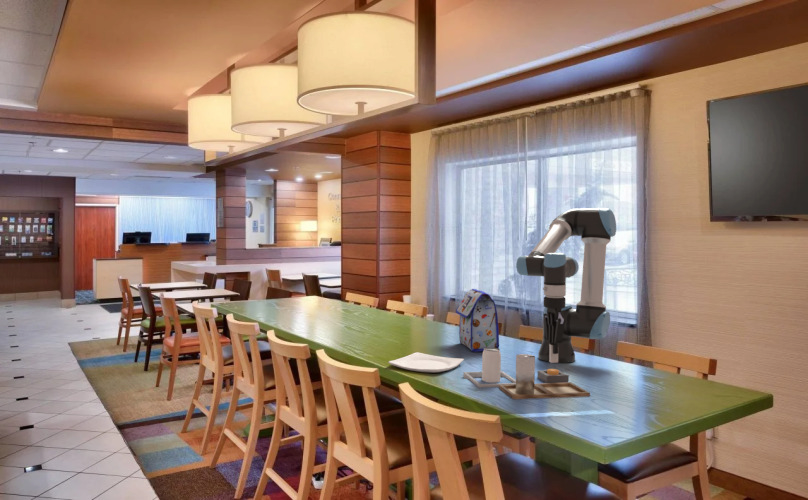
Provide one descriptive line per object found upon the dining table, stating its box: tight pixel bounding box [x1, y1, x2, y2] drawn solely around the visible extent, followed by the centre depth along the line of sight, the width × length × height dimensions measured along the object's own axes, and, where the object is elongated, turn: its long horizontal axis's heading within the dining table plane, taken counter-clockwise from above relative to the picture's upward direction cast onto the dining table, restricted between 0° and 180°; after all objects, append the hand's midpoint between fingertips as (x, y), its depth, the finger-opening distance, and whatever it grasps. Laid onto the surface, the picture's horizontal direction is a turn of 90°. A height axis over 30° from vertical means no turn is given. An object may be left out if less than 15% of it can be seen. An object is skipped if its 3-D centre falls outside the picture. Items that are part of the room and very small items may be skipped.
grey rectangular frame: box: [462, 370, 516, 389], centre depth 200 cm, size 15×18×2 cm
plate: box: [388, 351, 465, 374], centre depth 224 cm, size 24×24×3 cm
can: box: [481, 348, 502, 383], centre depth 200 cm, size 6×6×12 cm
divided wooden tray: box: [498, 381, 591, 400], centre depth 185 cm, size 26×13×2 cm, turn 101°
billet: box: [515, 353, 536, 395], centre depth 184 cm, size 6×6×12 cm
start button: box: [546, 368, 560, 375], centre depth 201 cm, size 4×4×4 cm
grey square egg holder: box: [537, 369, 570, 383], centre depth 201 cm, size 8×8×4 cm
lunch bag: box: [455, 288, 500, 353], centre depth 262 cm, size 23×17×27 cm
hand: (553, 362), depth 201 cm, fingers closed
